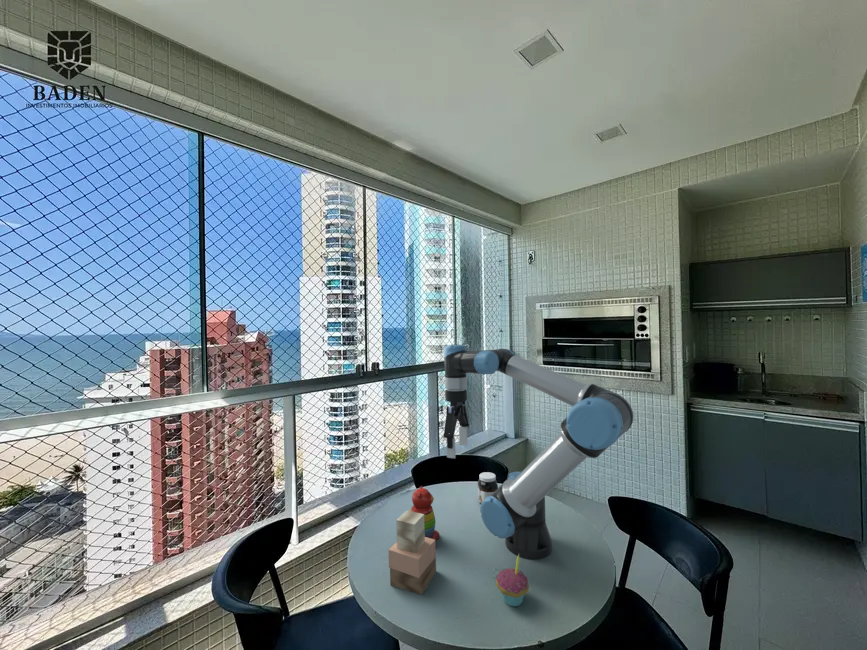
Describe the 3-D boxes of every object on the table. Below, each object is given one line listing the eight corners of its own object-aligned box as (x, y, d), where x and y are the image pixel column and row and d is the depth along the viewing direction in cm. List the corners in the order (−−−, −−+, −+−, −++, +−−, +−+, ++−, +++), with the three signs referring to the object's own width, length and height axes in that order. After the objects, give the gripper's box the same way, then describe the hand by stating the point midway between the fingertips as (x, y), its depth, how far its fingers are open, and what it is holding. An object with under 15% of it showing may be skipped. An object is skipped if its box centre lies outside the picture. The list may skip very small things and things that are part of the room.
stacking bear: (434, 552, 112) (433, 497, 113) (404, 549, 114) (403, 495, 115) (440, 534, 123) (439, 483, 123) (413, 531, 125) (412, 481, 125)
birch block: (424, 541, 102) (424, 514, 102) (415, 553, 97) (414, 524, 97) (407, 537, 105) (406, 510, 105) (396, 548, 99) (396, 520, 99)
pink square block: (435, 556, 103) (435, 539, 103) (419, 578, 94) (418, 559, 94) (407, 548, 107) (407, 531, 107) (388, 567, 98) (388, 549, 99)
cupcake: (524, 587, 96) (522, 543, 96) (534, 611, 87) (532, 563, 87) (493, 589, 95) (492, 544, 96) (500, 613, 87) (499, 565, 87)
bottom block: (436, 572, 103) (435, 555, 103) (422, 596, 94) (421, 577, 94) (406, 564, 107) (406, 548, 107) (390, 586, 98) (389, 568, 98)
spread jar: (475, 499, 148) (475, 471, 149) (500, 496, 150) (499, 469, 151) (485, 512, 137) (484, 483, 137) (511, 509, 139) (510, 480, 139)
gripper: (456, 384, 132) (458, 439, 132) (432, 394, 109) (434, 462, 108) (475, 384, 130) (477, 441, 129) (454, 395, 106) (456, 465, 106)
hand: (457, 451), depth 119 cm, fingers open, 13 cm apart
